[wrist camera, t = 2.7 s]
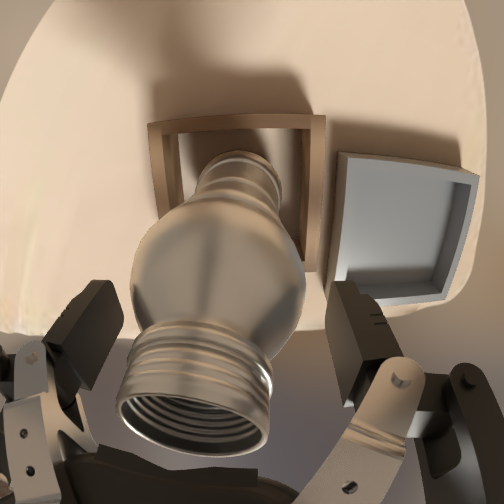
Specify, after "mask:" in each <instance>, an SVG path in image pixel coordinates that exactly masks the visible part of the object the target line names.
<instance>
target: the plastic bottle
mask: <svg viewBox="0 0 504 504" xmlns="http://www.w3.org/2000/svg"><path fill="white" fill-rule="evenodd" d="M281 201H282V187H281V182H280V179H279V177H278V174H277V172H276V171H275V169H274V168H273V166H272V165H271V164H270V163H269V162H268V161H267V160H265V159H264V158H262V157H261V156H259V155H257V154H254V153H252V152H247V151H230V152H226V153H223V154H221V155H219V156H217V157H215V158H214V159H213V160H211V161H210V162H209V163H208V164H207V165H206V167H205V168H204V169H203V171H202V173H201V174H200V176H199V179H198V182H197V186H196V189H195V194H194V195H193V196H192V197H191V198H190V199H188V200H187V201H185V202H183V203H182V204H180V205H179V206H177V207H175V208H174V209H172V210H170V211H169V212H168V213H167V214H166V215H164V216H163V217H162V218H161V219H160V220H159V221H157V222H156V223H155V224H154V225H153V226H152V227H151V228H150V229H149V230H148V232H147V233H146V234H145V236H144V237H143V238H142V240H141V241H140V244H139V246H138V249H137V251H136V254H135V257H134V261H133V266H132V271H131V279H130V294H131V301H132V305H133V309H134V313H135V317H136V321H137V323H138V326H139V329H140V331H141V333H140V334H139V335H138V336H137V337H136V338H135V341H134V343H133V345H132V348H131V350H130V353H129V355H128V357H127V371H126V373H125V376H124V378H123V381H122V384H121V386H120V389H119V392H118V394H117V397H116V401H117V402H116V405H115V409H116V413H117V415H118V417H119V418H120V420H121V421H122V422H123V423H124V424H125V425H126V426H127V427H128V428H129V429H130V430H132V431H133V432H134V433H136V434H138V435H139V436H140V437H142V438H144V439H146V440H148V441H150V442H152V443H154V444H156V445H159V446H161V447H164V448H167V449H170V450H173V451H177V452H181V453H185V454H190V455H196V456H205V457H231V456H238V455H243V454H247V453H251V452H253V451H255V450H257V449H259V448H261V447H262V446H263V445H264V444H265V443H266V441H267V440H268V433H269V430H270V412H269V411H270V410H269V399H270V397H271V395H272V393H273V370H272V367H271V363H270V360H271V359H272V358H273V357H274V356H275V355H277V353H278V352H279V351H280V350H281V348H282V347H283V346H284V344H285V343H286V342H287V340H288V339H289V337H290V336H291V335H292V333H293V332H294V330H295V329H296V327H297V324H298V322H299V319H300V316H301V313H302V308H303V304H304V300H305V292H306V279H305V271H304V267H303V265H302V262H301V259H300V257H299V254H298V252H297V249H296V247H295V244H294V242H293V240H292V239H291V237H290V236H289V234H288V232H287V231H286V229H285V228H284V226H283V224H282V223H281V221H280V218H279V215H278V213H279V210H280V206H281Z"/></svg>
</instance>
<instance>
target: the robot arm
mask: <svg viewBox="0 0 504 504" xmlns="http://www.w3.org/2000/svg"><path fill="white" fill-rule="evenodd" d="M123 322H124V315H123V311H122V308H121V305H120V303H119V300H118V297H117V294H116V291H115V288H114V285H113V283H112V282H111V281H110V280H92V281H91V282H90V283H89V284H88V285H87V286H86V288H85V289H84V290H83V291H82V292H81V293H80V294H79V295H77V296H76V297H75V298H73V299H72V300H71V302H70V303H69V304H68V305H67V307H66V310H65V309H64V311H63V312H62V313H61V316H60V317H58V319H57V320H56V321H55V323H54V324H53V325H52V327H51V328H50V330H49V331H48V332H47V334H46V335H45V337H44V338H43V340H42V341H41V342H40V341H31V342H28V343H26V344H25V345H23V346H22V347H21V348H20V349H19V351H18V352H17V354H9V355H7V354H6V353H5V351H4V350H3V348H2V347H1V345H0V393H1V394H2V395H3V396H4V397H5V398H6V402H5V404H4V406H3V409H2V411H1V413H0V504H380V503H381V502H382V500H383V498H384V496H385V495H386V493H387V491H388V489H389V487H390V485H391V483H392V482H393V480H394V478H395V476H396V474H397V472H398V470H399V467H400V465H401V463H402V461H403V458H404V456H405V453H406V446H404V442H405V439H406V437H414V441H415V446H416V450H417V455H418V460H419V465H420V470H421V475H422V481H423V487H424V493H425V500H426V504H504V417H503V415H502V412H501V410H500V407H499V405H498V403H497V400H496V398H495V396H494V394H493V391H492V389H491V387H490V385H489V383H488V381H487V379H486V377H485V375H484V373H483V372H482V371H481V370H480V369H479V368H478V367H477V366H475V365H473V364H470V363H460V364H458V365H456V366H455V367H454V368H453V369H452V371H451V373H450V374H449V375H446V374H432V373H425V372H424V371H423V369H422V368H421V367H420V365H419V364H418V363H416V362H415V361H413V360H411V359H409V358H406V357H404V356H403V353H402V351H401V349H400V347H399V345H398V343H397V341H396V338H395V336H394V334H393V332H392V330H391V328H390V326H389V324H387V320H386V318H385V316H384V315H383V312H382V310H381V308H380V306H379V304H378V303H377V302H376V301H375V300H374V299H373V298H372V297H370V296H369V295H368V294H360V292H359V290H358V288H357V286H356V284H355V282H354V281H353V280H347V281H332V282H331V285H330V291H329V297H328V303H327V309H326V315H325V330H326V335H327V339H328V343H329V347H330V351H331V355H332V359H333V363H334V368H335V372H336V376H337V381H338V385H339V389H340V394H341V399H342V404H343V407H349V406H354V408H355V412H356V414H355V415H354V417H353V419H352V421H351V423H350V424H349V425H348V427H347V429H346V430H345V432H344V433H343V435H342V437H341V438H340V440H339V441H338V443H337V444H336V446H335V447H334V449H333V451H332V452H331V453H330V455H329V456H328V458H327V459H326V460H325V462H324V463H323V465H322V466H321V467H320V469H319V470H318V471H317V473H316V474H315V476H314V477H313V478H312V480H311V481H310V482H309V483H308V485H307V486H306V487H305V488H304V489H303V491H302V492H301V493H299V492H297V491H296V490H294V489H293V488H290V487H289V486H287V485H285V484H283V483H280V482H278V481H275V480H271V479H269V478H265V477H261V476H258V469H247V468H246V469H245V468H224V467H208V468H199V469H188V470H174V471H173V470H167V469H164V468H162V467H160V466H157V465H155V464H153V463H151V462H149V461H147V460H145V459H143V458H140V457H138V456H137V455H135V454H133V453H129V452H126V451H122V450H118V449H115V448H111V447H108V446H105V445H102V444H99V447H97V445H96V444H95V442H94V440H93V439H92V436H91V434H90V430H89V427H88V424H87V421H86V417H85V414H84V410H83V406H82V403H81V398H80V396H79V394H78V393H77V392H78V390H79V388H82V389H86V390H90V391H91V390H92V388H93V386H94V383H95V381H96V379H97V377H98V375H99V373H100V371H101V368H102V366H103V364H104V362H105V360H106V358H107V356H108V354H109V352H110V350H111V348H112V346H113V344H114V342H115V340H116V338H117V336H118V335H119V333H120V331H121V329H122V327H123ZM11 481H12V486H13V488H12V487H10V483H11Z"/></svg>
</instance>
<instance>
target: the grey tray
mask: <svg viewBox="0 0 504 504" xmlns="http://www.w3.org/2000/svg"><path fill="white" fill-rule="evenodd" d="M479 177H480V176H479V175H477V174H475V173H472V172H470V171H468V170H466V169H463V168H460V167H456V166H450V165H445V164H440V163H434V162H428V161H422V160H415V159H408V158H400V157H392V156H384V155H374V154H364V153H352V152H337V164H336V182H335V196H334V208H333V219H332V230H331V239H330V248H329V257H328V265H327V272H326V280H325V287H324V293H325V297H326V300H327V303H328V297H329V291H330V285H331V282H332V281H347V280H353V281H354V282H355V284H356V286H357V288H358V290H359V292H360V294H368V295H369V296H370V297H372V298H373V299H374V300H375V301H376V302H377V303H378V304H379V306H380V307H383V306H394V305H405V304H415V303H424V302H432V301H440V300H445V298H446V296H447V293H448V291H449V288H450V286H451V283H452V280H453V278H454V275H455V272H456V269H457V266H458V263H459V260H460V257H461V254H462V251H463V247H464V244H465V240H466V237H467V233H468V230H469V226H470V222H471V218H472V213H473V209H474V204H475V199H476V194H477V189H478V183H479Z"/></svg>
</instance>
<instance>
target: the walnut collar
mask: <svg viewBox="0 0 504 504" xmlns="http://www.w3.org/2000/svg"><path fill="white" fill-rule="evenodd" d="M325 125H326V115H311V114H233V115H216V116H204V117H193V118H184V119H176V120H168V121H161V122H154V123H148V124H147V128H148V139H149V149H150V159H151V167H152V175H153V183H154V190H155V197H156V204H157V210H158V217H159V220H160V219H161V218H162V217H163V216H164V215H166V214H167V213H168V212H169V211H170V210H172V209H174V208H175V207H177V206H179V205H180V204H182V203H183V202H184V195H183V186H182V176H181V166H180V155H179V143H178V133H187V132H197V131H210V130H225V129H249V128H298V129H302V154H301V195H300V221H299V239H292V240H293V242H294V244H295V247H296V249H297V252H298V254H299V257H300V259H301V262H302V265H303V267H304V271H305V272H316V270H317V260H318V250H319V240H320V228H321V215H322V201H323V184H324V163H325Z"/></svg>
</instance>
